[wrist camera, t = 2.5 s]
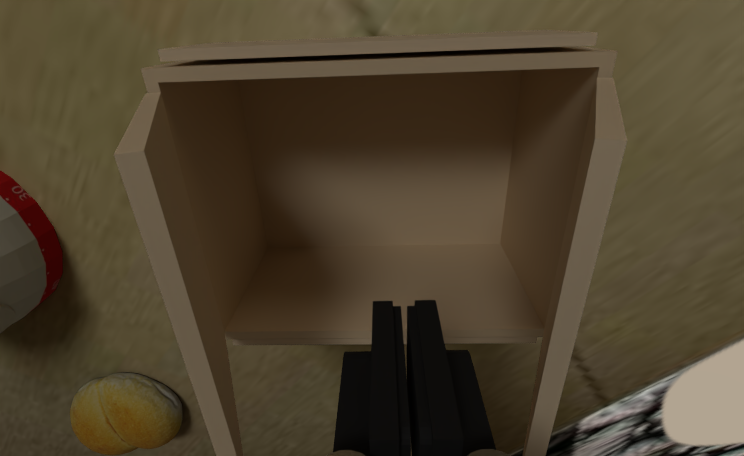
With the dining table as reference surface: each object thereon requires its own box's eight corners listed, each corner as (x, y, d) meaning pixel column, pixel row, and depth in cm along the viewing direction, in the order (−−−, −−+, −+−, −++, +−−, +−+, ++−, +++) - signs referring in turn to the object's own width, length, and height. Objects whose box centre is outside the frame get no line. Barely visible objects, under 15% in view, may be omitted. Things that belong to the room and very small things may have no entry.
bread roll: (201, 421, 38) (182, 463, 34) (118, 435, 39) (92, 477, 35) (158, 359, 34) (132, 398, 31) (68, 376, 35) (33, 416, 32)
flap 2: (613, 77, 14) (626, 140, 7) (555, 332, 19) (531, 508, 12) (596, 77, 14) (595, 138, 7) (544, 329, 19) (514, 501, 12)
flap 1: (160, 92, 15) (144, 150, 8) (224, 331, 20) (249, 498, 13) (145, 93, 14) (113, 154, 7) (213, 335, 20) (233, 506, 13)
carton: (534, 27, 22) (621, 31, 14) (503, 254, 28) (550, 347, 20) (224, 40, 22) (135, 50, 14) (265, 258, 29) (219, 349, 21)
